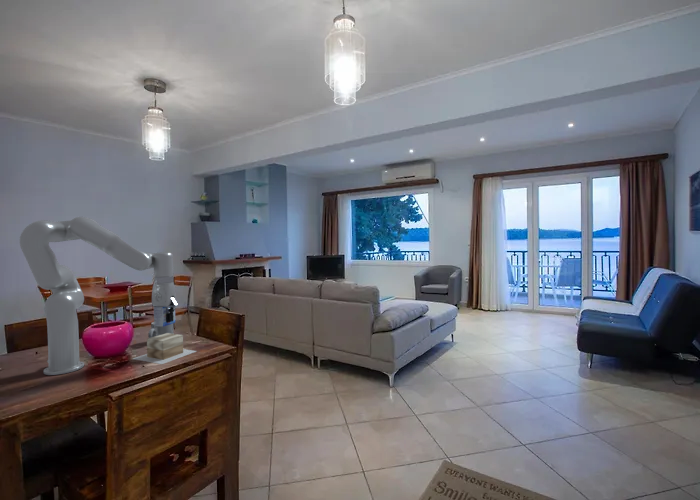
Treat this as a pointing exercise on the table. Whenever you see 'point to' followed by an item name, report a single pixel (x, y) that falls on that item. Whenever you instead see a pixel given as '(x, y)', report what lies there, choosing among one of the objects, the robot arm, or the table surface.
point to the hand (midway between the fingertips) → (165, 320)
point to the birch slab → (164, 341)
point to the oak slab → (165, 352)
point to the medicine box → (161, 316)
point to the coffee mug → (160, 330)
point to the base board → (160, 361)
